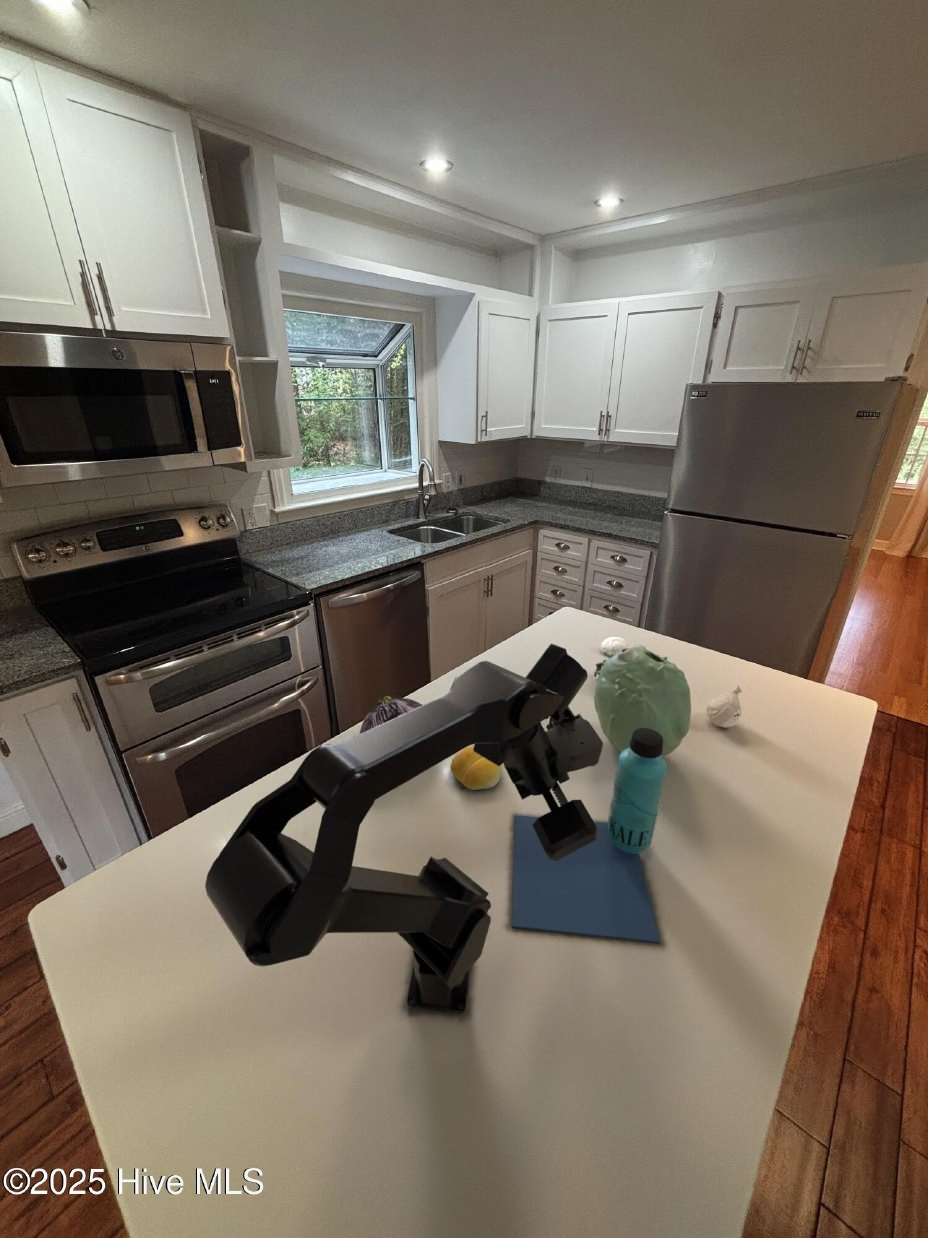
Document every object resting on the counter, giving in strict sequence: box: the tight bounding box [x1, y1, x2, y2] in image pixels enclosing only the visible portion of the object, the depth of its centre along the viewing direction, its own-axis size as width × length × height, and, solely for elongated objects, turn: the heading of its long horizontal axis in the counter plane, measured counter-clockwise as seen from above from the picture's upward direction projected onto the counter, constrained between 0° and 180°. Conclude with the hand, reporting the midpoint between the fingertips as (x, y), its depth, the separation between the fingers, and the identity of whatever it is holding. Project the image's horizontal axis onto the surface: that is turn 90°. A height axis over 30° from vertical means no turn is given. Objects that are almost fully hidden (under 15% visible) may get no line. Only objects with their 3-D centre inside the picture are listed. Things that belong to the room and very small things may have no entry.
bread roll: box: [449, 746, 503, 791], centre depth 87 cm, size 8×9×4 cm
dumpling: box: [600, 636, 628, 657], centre depth 127 cm, size 7×5×4 cm
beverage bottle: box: [606, 728, 668, 854], centre depth 69 cm, size 6×7×20 cm
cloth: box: [511, 815, 661, 944], centre depth 70 cm, size 18×18×1 cm
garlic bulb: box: [705, 685, 743, 728], centre depth 99 cm, size 7×6×8 cm
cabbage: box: [593, 644, 692, 758], centre depth 89 cm, size 16×19×20 cm
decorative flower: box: [359, 695, 424, 734], centre depth 93 cm, size 14×12×15 cm
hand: (550, 804), depth 66 cm, fingers open, 9 cm apart
